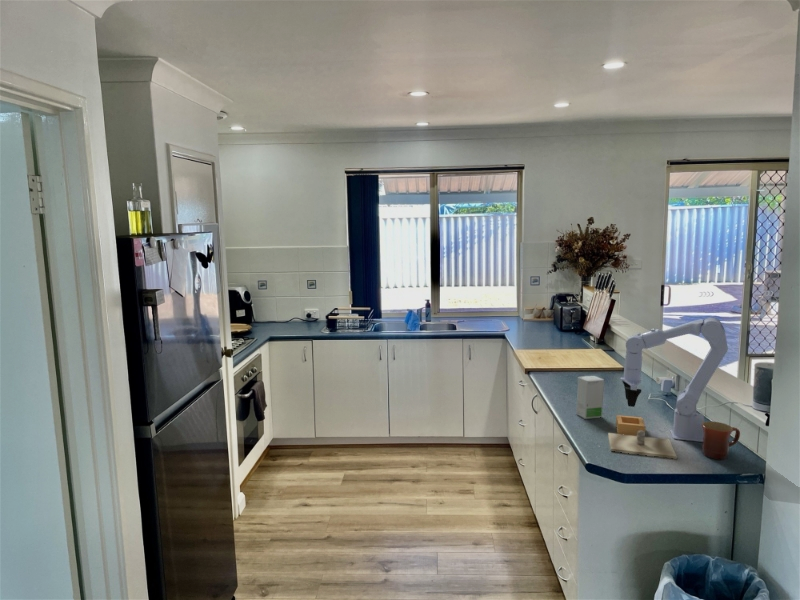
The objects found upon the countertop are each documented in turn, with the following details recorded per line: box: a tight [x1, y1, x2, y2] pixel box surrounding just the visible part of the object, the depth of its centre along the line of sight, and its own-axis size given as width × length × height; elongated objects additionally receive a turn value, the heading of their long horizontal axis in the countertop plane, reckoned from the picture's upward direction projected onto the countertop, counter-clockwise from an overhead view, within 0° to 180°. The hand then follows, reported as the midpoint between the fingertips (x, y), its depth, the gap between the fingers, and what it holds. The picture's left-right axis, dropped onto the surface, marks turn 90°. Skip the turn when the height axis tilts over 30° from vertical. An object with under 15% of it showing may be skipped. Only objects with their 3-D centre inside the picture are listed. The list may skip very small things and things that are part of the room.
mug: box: [701, 420, 741, 460], centre depth 173 cm, size 12×9×10 cm
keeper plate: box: [607, 430, 678, 460], centre depth 181 cm, size 20×14×6 cm
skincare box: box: [575, 375, 605, 420], centre depth 210 cm, size 8×7×16 cm
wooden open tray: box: [615, 414, 646, 436], centre depth 195 cm, size 9×9×4 cm
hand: (630, 402), depth 197 cm, fingers open, 7 cm apart
